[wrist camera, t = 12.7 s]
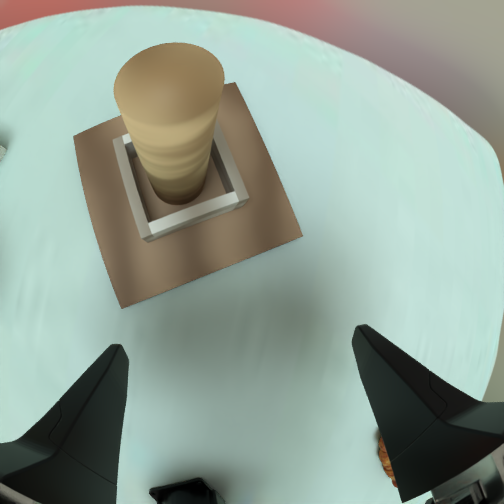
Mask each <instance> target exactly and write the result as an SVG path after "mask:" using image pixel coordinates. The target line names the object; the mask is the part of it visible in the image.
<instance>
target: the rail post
mask: <svg viewBox="0 0 504 504" xmlns="http://www.w3.org/2000/svg"><path fill="white" fill-rule="evenodd" d="M224 79H225V77H224V71H223V68H222V65H221V63H220V62H219V60H218V59H217V58H216V57H215V56H214V55H213V54H212V53H210V52H209V51H207V50H206V49H204V48H201V47H199V46H196V45H192V44H188V43H165V44H160V45H156V46H153V47H150V48H148V49H145V50H143V51H141V52H140V53H138V54H136V55H135V56H133V57H132V58H131V59H130V60H129V61H127V62H126V63H125V65H124V66H123V67H122V68H121V70H120V71H119V73H118V75H117V77H116V80H115V83H114V97H115V100H116V103H117V105H118V108H119V110H120V113H121V116H122V118H123V121H124V123H125V126H126V128H127V130H128V133H129V135H130V138H131V140H132V143H133V145H134V147H135V150H136V152H137V154H138V157H139V159H140V161H141V164H142V166H143V168H144V170H145V173H146V175H147V177H148V179H149V181H150V184H151V186H152V188H153V190H154V192H155V194H156V196H157V197H158V198H159V199H160V200H162V201H163V202H165V203H167V204H170V205H177V206H178V205H185V204H188V203H190V202H192V201H193V200H195V199H196V198H197V197H198V196H199V195H200V194H201V192H202V190H203V188H204V185H205V180H206V174H207V168H208V162H209V156H210V151H211V145H212V140H213V135H214V129H215V124H216V119H217V114H218V109H219V105H220V100H221V95H222V91H223V86H224Z"/></svg>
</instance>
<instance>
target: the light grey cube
mask: <svg viewBox="0 0 504 504" xmlns="http://www.w3.org/2000/svg"><path fill="white" fill-rule="evenodd" d="M6 151H7V150H6V149H5V148H4V147H2V146H1V145H0V162H1V160H2V158H3V156H4V155H5V153H6Z"/></svg>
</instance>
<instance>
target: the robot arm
mask: <svg viewBox="0 0 504 504" xmlns="http://www.w3.org/2000/svg"><path fill="white" fill-rule="evenodd" d="M352 347H353V351H354V354H355V358H356V362H357V366H358V370H359V374H360V378H361V380H362V383H363V386H364V389H365V391H366V394H367V397H368V399H369V402H370V405H371V408H372V410H373V413H374V416H375V419H376V422H377V425H378V428H379V430H380V433H381V436H382V439H383V442H384V445H385V448H386V451H387V455H388V458H389V461H390V464H391V468H392V471H393V474H394V477H395V481H396V484H397V487H398V491H399V494H400V498H401V501H402V503H404V502H407V501H409V500H411V499H413V498H416V497H418V496H420V495H422V494H424V493H426V492H428V491H431V493H432V496H433V497H432V498H430V499H428V500H427V501H426V503H425V504H504V402H490V403H488V402H487V403H486V402H482V401H478V400H476V399H474V398H472V397H471V396H469V395H467V394H466V393H464V392H462V391H460V390H459V389H457V388H455V387H454V386H452V385H450V384H449V383H447V382H446V381H444V380H443V379H441V378H440V377H438V376H437V375H436V374H434V373H433V372H432V371H429V369H427V368H426V367H425V366H423V365H422V364H421V363H419V362H418V361H416V360H415V359H414V358H412V357H411V356H410V355H408V354H407V353H406V352H404V351H403V350H401V349H400V348H399V347H397V346H396V345H395V344H393V343H392V342H390V341H389V340H388V339H386V338H385V337H384V336H382V335H381V334H379V333H378V332H377V331H375V330H374V329H373V328H371V327H370V326H368V325H367V324H363V325H358V326H356V328H355V331H354V335H353V338H352ZM128 370H129V359H128V356H127V354H126V352H125V350H124V348H123V347H122V345H121V344H111V345H110V346H109V347H108V348H107V349H106V350H105V351H104V352H103V353H102V354H101V355H100V356H99V357H98V358H97V359H96V361H95V362H94V363H93V364H92V365H91V366H90V367H89V368H88V369H87V370H86V371H85V372H84V373H83V374H82V375H81V376H80V378H79V379H78V380H77V381H76V382H75V383H74V384H73V385H72V386H71V387H70V388H69V389H68V390H67V392H66V393H65V394H64V395H63V396H62V397H61V398H60V399H59V401H57V402H56V404H55V405H54V406H53V407H52V408H51V409H50V410H49V411H48V412H47V413H46V414H45V415H44V416H43V417H42V418H41V419H40V420H39V421H38V422H37V423H36V424H35V425H34V426H32V427H31V428H30V429H29V430H28V431H27V432H26V433H25V434H24V435H23V436H21V437H20V438H19V439H17V440H15V441H12V442H6V443H0V504H116V496H117V486H116V485H117V476H118V464H119V453H120V444H121V435H122V427H123V420H124V413H125V406H126V399H127V387H128ZM199 482H200V483H199ZM149 494H150V495H151V496H152V497H153V498H154V499H155V500H156V501H157V504H225V501H224V500H223V499H222V498H221V496H220V495H219V494H218V493H217V492H216V491H215V490H212V489H211V488H210V487H209V486H208V484H207V483H206V482H205V481H204V480H203V479H201V478H197V479H193V480H189V481H185V482H181V483H177V484H173V485H168V486H164V487H159V488H154V489H150V490H149Z"/></svg>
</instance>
